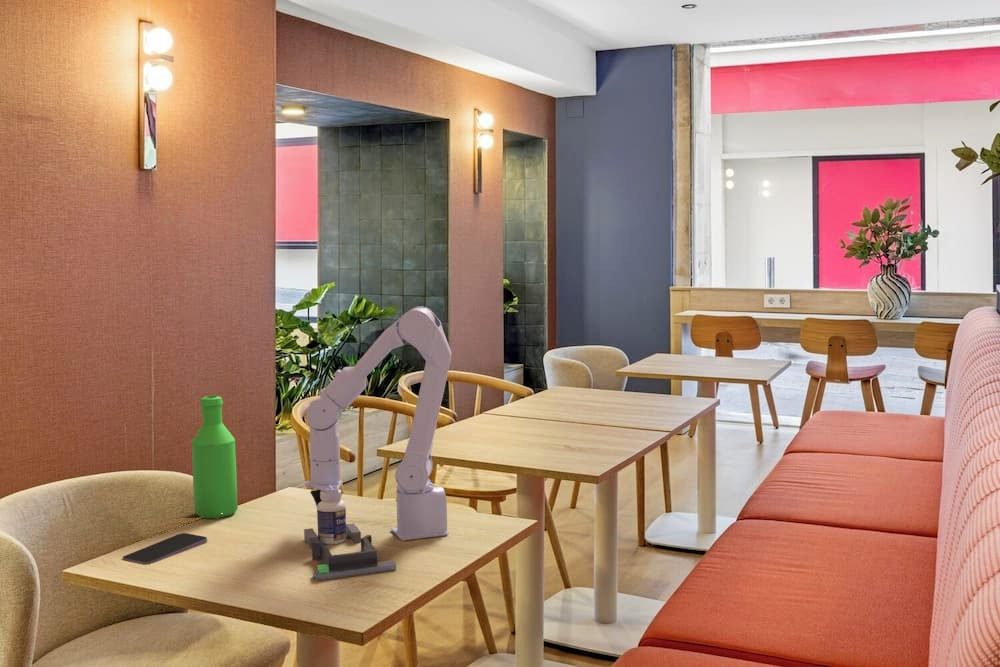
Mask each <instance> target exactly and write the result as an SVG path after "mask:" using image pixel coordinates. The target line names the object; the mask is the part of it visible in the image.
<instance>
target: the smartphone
mask: <svg viewBox="0 0 1000 667" xmlns="http://www.w3.org/2000/svg"><path fill="white" fill-rule="evenodd" d="M207 542H208V537H207V536H204V535H199V534H197V535H196V534H193V533H187V532H181V533H179V534H176V535H173V536H170V537H169V538H165V539H162V540H161V541H158V542H155V543H154V544H150V545H148V546H146V547H143V548H140V549H138V550H136V551H132V552H131V553H128V554H126V555H123V557H122V560H124V561H128V562H132V563H136V564H142V565H151V563H152V564H154V563H157V562H160V561H162V560H165V559H167V558H170V557H172V556H176V555H178V554H180V553H183V552H185V551H189V550H192V549H194V548H196V547H199V546H200V545H203V544H206V543H207Z"/></svg>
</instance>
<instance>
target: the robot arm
mask: <svg viewBox="0 0 1000 667" xmlns="http://www.w3.org/2000/svg"><path fill="white" fill-rule="evenodd" d="M407 343H408V344H410V345H411V346H413V347H414V348H416V349H417V351H418V353H419V354H420V355H421V357H422V358H423V359H424V360H425V365H424V370H423V374H422V378H421V383H420V388H419V392H418V396H417V401H416V406H415V410H414V415H413V418H412V420H413V421H412V424H411V428H410V434H409V439H408V441H407V445H406V449H405V452H404V456H403V457H402V459H401V462H400V464H398V466H397V467H396V470H395V475H394V478H395V483H396V484H397V485H396V487H395V489H396V490H395V491H396V492H395V493H396V494H395V495H396V524H397V525H396V526H392V527H390V528H391V531H392V532H393V533H394V534H395V535H396V537H398V539H399V540H400V541H402V542H403V541H411V540H419V539H425V538H426V539H427V538H434V537H442V536H448V535H449V532H448V505H447V496H446V492H445V489H444V488H443V487H442V486H440V485H438V486H436V485H435V486H434V483H433V482H432V481H431V479H430V478H429V477H430V475H431V474H432V472H433V467H434V464H433V459H432V450H433V444H434V443H433V442H434V438H435V433H436V429H437V423H438V420H439V415H440V411H441V407H442V406H441V405H442V401H443V398H444V394H445V388H446V383H447V379H448V374H449V370H450V366H451V361H452V349H451V347H450V345H449V342H448V340H447V337H446V334H445V332H444V329H443V326H442V322H441V320H440V319H439V317H437V316H436V314H435V313H434V312H433V311H432V310H431V309H430V308H428V307H425V306H414V307H413V308H411V309H409V310H408V311H406V312H405V313H403V314H402V315H401V317H400V318H399V319H398V320H396V321H395V322H394V323H392V324H391V325H390V326H389V327H387V328H386V329H385V330H384V331H383V332H382V333H381V334H380V336H378V337H377V339H376V340H375V341H374V342H373V343H372V345H371V346H370V347H369V348H368V350H367V351H366V352H365V353H364V354H363V355H362V356H361V358H360V359H359V360H358V361H357V363H356V364H355V365H354V366H345V367H343V368H342V369H337V370H336V371H335V372H334V373H333V376H334V378H333V379H332V380H331V382H330V383H329V384H328V385H327V386H326V387H325V388H324V389H320V390H319V391H318V393H317V394H318V395H319V397H318V398H316V399H314V400H312V401H310V402H309V405H308V407H307V408H306V412H305V419H306V422H307V423H308V424H309V456H310V457H309V459H310V460H309V461H310V466H309V467H310V480H309V481H304V486H305V487H306V488H313V490H311V491H310V494H311V497H312V498H313V500H314V503H315V506H316V507H317V505H318V503H319V502H321V501H322V500H321V498H320V492H321V491H324V492H326V493H327V497H328V500H331V499H339V493H338V489H341V488H340V487H341V486H342V484H343V481H342V478H341V451H340V450H341V448H340V447H341V446H340V432H339V420H340V418H341V416H342V413H343V412H344V411H346V410H348V408H349V407H350V406H351V405H352V404H353V403H354V401H355V400H356V399H357V398H358V397H359V396H360V395H361V394H362V392H363V391H365V389H366V388H367V376H368V375H369V374H371V373H372V371H373V370H374V369H375V368H376V367H377V366H378V365H379V364H380V363H381V362H382V361H383V360H384V359H385V358H386V357H387V355H388V354H389V353H390V352H391V351H392V350H393V349H397V348H399V347H403V346H405V345H406V344H407ZM341 494H342V495H343V492H342V491H341Z"/></svg>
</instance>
